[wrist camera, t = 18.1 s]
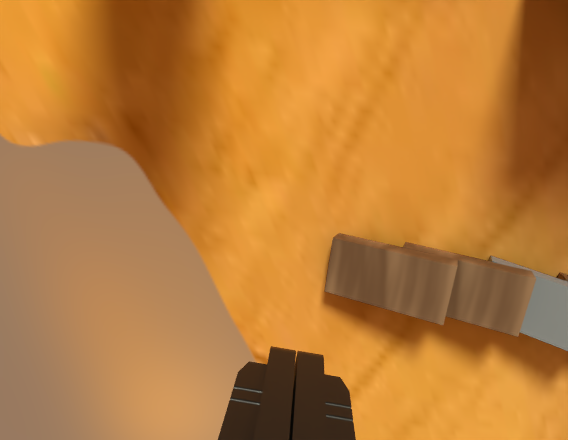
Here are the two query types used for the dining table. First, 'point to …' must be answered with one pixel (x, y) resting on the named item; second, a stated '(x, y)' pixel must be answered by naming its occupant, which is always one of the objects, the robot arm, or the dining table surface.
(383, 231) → the dining table surface
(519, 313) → the domino
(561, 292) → the domino
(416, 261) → the domino
